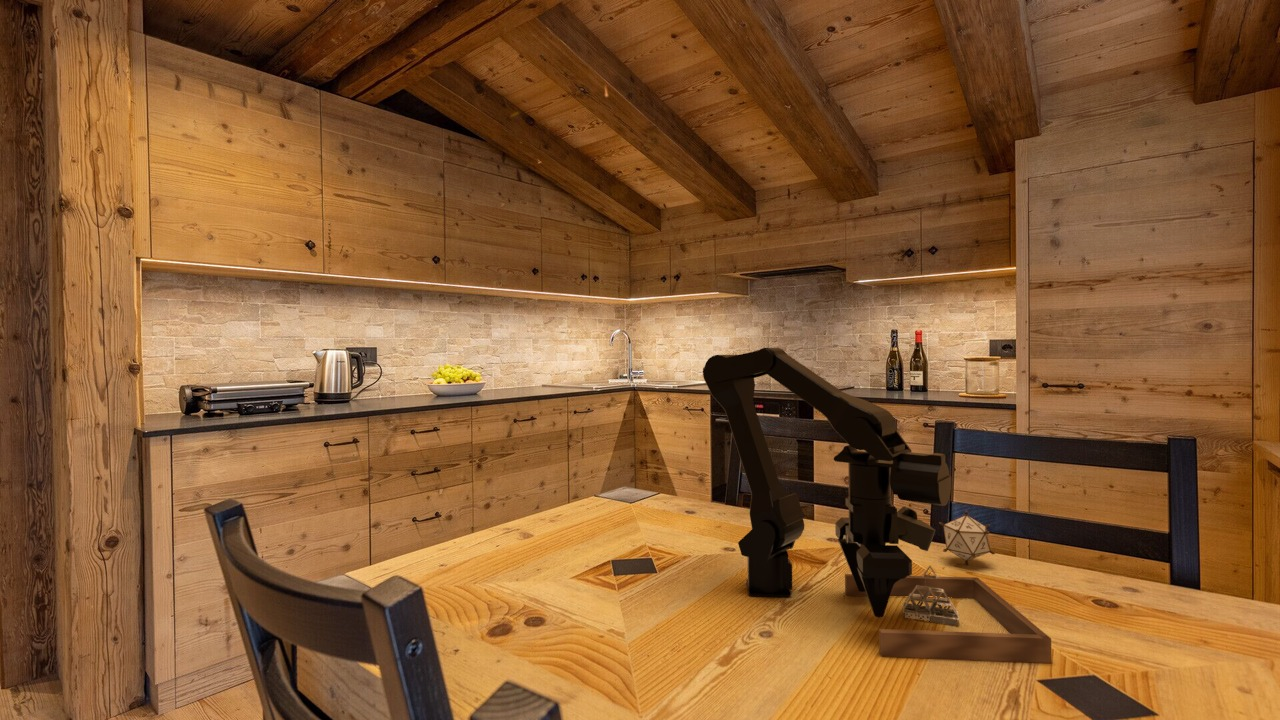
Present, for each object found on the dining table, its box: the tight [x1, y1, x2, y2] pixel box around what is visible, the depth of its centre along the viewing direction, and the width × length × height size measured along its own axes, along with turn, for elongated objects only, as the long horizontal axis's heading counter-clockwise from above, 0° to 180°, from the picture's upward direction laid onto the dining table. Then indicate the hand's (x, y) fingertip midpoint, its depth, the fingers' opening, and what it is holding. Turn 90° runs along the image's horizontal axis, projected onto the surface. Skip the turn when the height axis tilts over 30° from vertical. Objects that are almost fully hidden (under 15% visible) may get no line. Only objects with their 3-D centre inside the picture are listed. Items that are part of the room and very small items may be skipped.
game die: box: [938, 509, 996, 566], centre depth 111 cm, size 9×8×10 cm
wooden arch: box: [844, 573, 1052, 664], centre depth 88 cm, size 20×21×3 cm
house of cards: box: [902, 564, 960, 627], centre depth 92 cm, size 9×9×8 cm
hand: (870, 603), depth 90 cm, fingers open, 9 cm apart
